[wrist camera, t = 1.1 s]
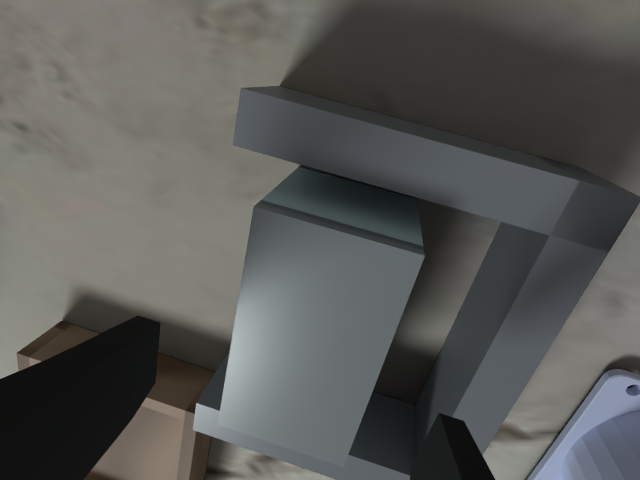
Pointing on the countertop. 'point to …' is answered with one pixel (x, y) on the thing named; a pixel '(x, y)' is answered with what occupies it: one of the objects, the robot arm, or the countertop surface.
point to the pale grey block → (318, 310)
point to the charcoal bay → (489, 284)
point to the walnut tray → (144, 416)
